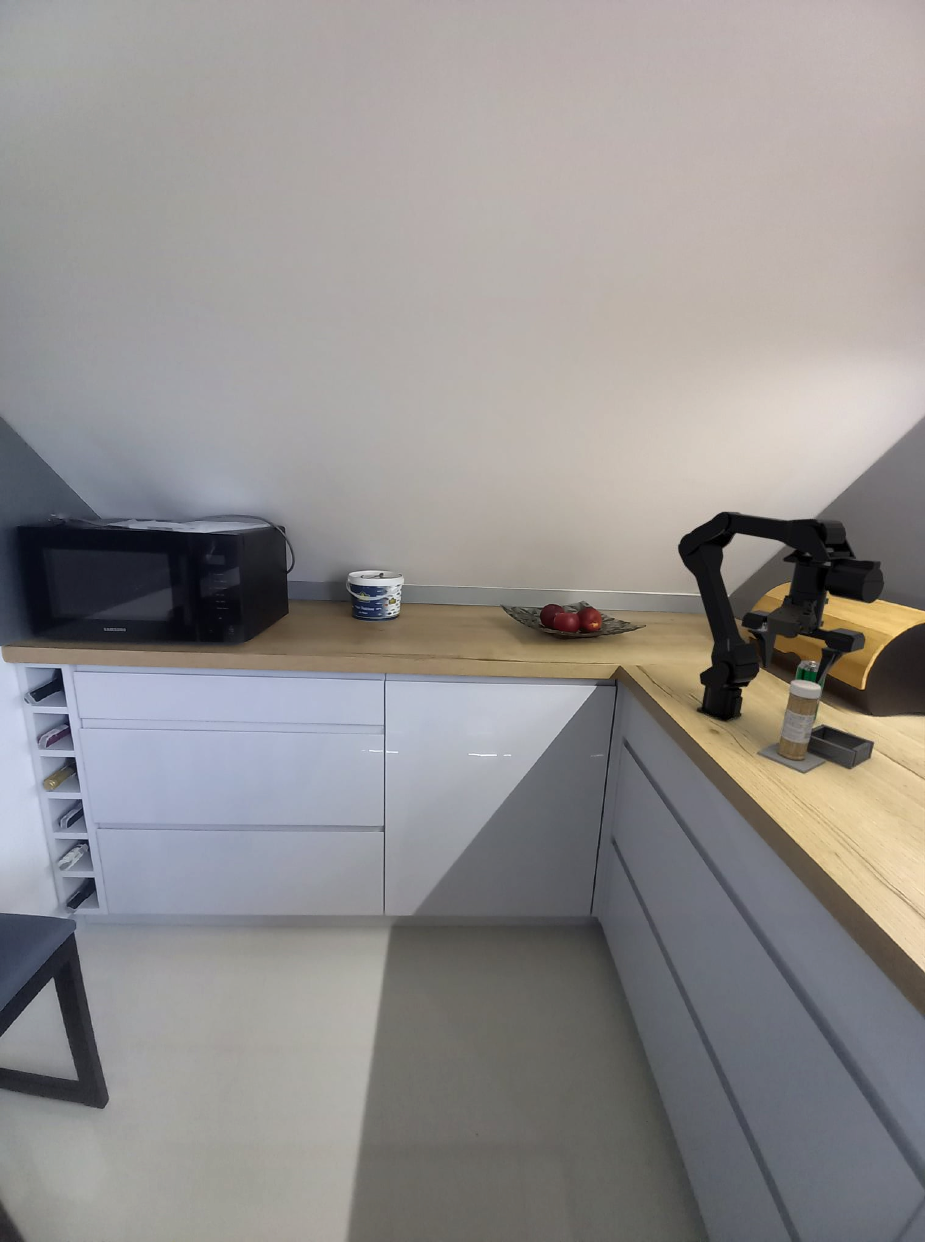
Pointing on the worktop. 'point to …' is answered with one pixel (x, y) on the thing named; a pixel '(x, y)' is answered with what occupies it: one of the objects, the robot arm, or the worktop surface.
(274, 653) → the worktop surface
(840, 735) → the grey open box
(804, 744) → the sprinkles bottle
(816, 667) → the soda can
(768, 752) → the rubber pad
